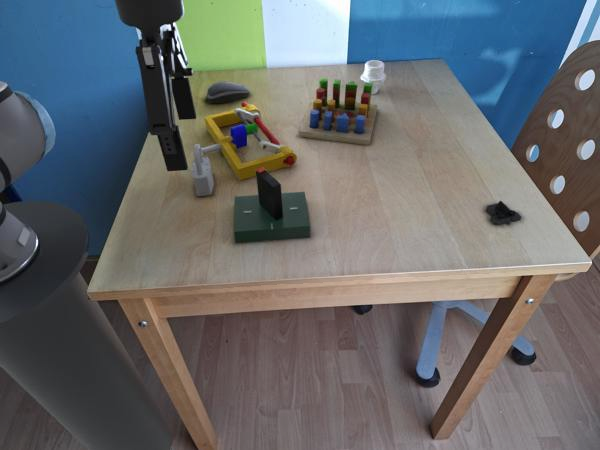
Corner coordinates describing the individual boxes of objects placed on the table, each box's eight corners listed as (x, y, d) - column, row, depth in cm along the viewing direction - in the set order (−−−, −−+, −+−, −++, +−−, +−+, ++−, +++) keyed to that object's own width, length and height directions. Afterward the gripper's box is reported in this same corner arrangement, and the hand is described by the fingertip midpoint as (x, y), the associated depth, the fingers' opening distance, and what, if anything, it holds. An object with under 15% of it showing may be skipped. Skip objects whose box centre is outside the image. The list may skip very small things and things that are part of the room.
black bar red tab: (283, 217, 79) (280, 182, 74) (275, 220, 79) (273, 186, 73) (266, 200, 83) (262, 166, 77) (259, 203, 82) (255, 169, 76)
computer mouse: (252, 97, 120) (251, 84, 117) (209, 106, 116) (207, 92, 114) (245, 87, 124) (243, 74, 121) (204, 95, 121) (201, 82, 118)
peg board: (298, 137, 105) (297, 105, 99) (313, 103, 117) (313, 73, 111) (369, 145, 101) (372, 113, 95) (377, 110, 113) (381, 79, 108)
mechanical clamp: (248, 87, 111) (298, 143, 91) (251, 108, 115) (299, 167, 96) (179, 103, 105) (217, 167, 86) (185, 125, 110) (222, 191, 90)
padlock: (195, 176, 94) (186, 137, 87) (214, 174, 94) (206, 136, 87) (194, 197, 89) (184, 157, 82) (214, 195, 89) (205, 155, 82)
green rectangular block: (235, 243, 79) (233, 231, 77) (236, 207, 86) (234, 195, 84) (310, 237, 80) (310, 225, 77) (304, 202, 87) (304, 190, 85)
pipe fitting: (357, 87, 123) (359, 59, 118) (381, 85, 124) (384, 58, 118) (361, 97, 119) (364, 69, 113) (386, 95, 119) (390, 68, 114)
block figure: (509, 193, 84) (527, 211, 80) (505, 202, 86) (523, 221, 82) (482, 199, 83) (500, 218, 79) (479, 208, 85) (496, 227, 81)
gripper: (132, -44, 57) (168, 102, 72) (79, 22, 39) (142, 197, 54) (188, -46, 57) (213, 99, 72) (162, 18, 39) (202, 193, 54)
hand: (183, 142), depth 63 cm, fingers open, 13 cm apart
